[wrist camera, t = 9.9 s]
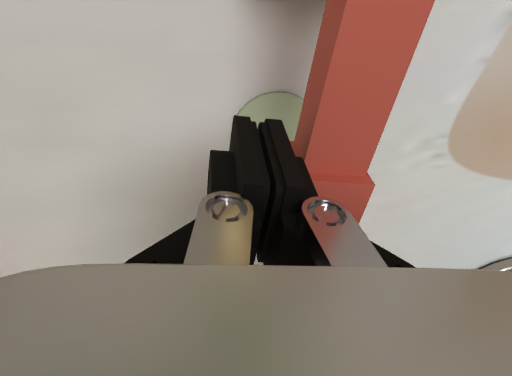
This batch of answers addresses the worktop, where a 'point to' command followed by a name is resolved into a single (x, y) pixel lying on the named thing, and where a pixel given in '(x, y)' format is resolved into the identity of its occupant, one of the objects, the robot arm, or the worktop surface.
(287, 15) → the worktop surface
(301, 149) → the lever
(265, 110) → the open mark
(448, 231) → the worktop surface
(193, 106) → the worktop surface
